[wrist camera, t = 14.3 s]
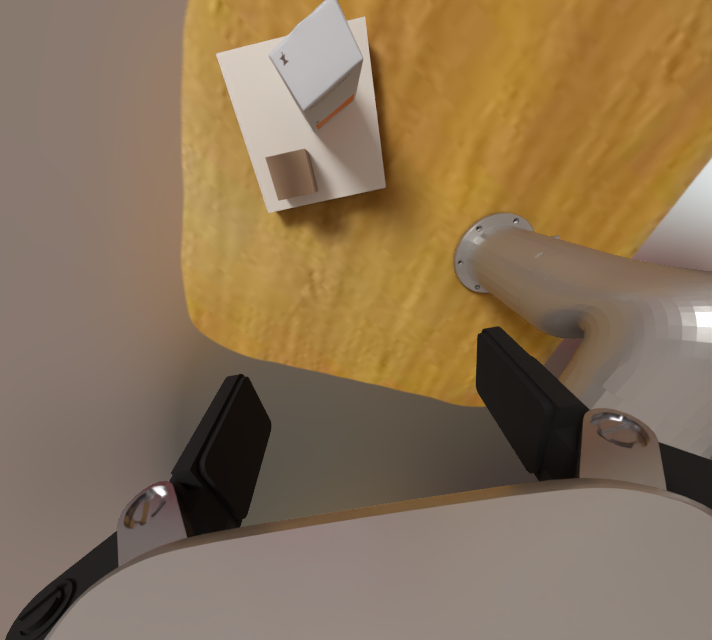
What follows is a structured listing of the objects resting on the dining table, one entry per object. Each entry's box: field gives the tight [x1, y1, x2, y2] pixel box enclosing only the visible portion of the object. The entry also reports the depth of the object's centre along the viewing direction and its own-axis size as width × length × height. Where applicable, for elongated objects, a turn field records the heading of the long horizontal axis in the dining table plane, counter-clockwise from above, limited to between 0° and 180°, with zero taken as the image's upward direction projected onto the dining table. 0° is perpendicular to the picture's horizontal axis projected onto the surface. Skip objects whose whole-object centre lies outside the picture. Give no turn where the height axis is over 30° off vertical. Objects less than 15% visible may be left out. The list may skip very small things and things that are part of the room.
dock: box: [216, 17, 386, 213], centre depth 33 cm, size 16×16×3 cm
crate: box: [265, 149, 318, 201], centre depth 32 cm, size 4×4×4 cm
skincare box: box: [269, 0, 363, 133], centre depth 25 cm, size 6×4×12 cm
